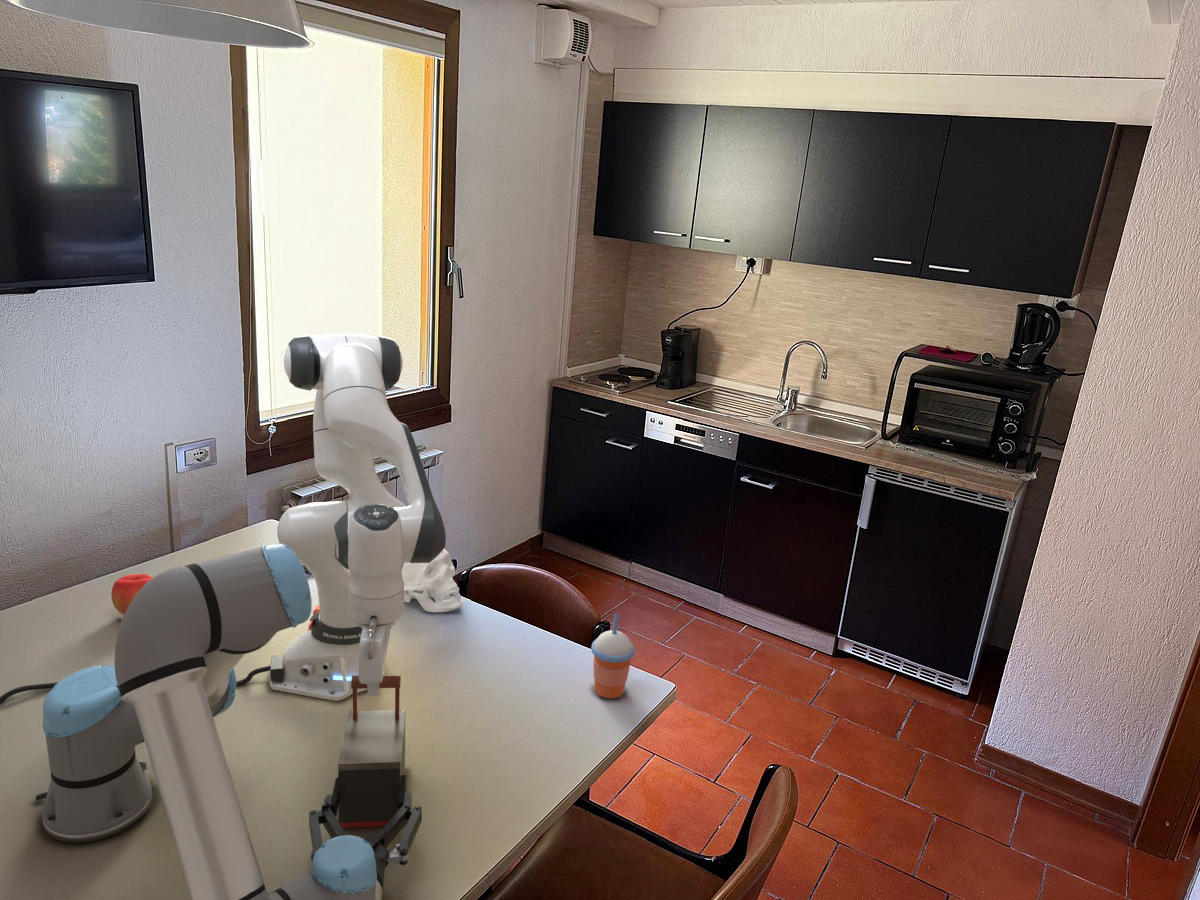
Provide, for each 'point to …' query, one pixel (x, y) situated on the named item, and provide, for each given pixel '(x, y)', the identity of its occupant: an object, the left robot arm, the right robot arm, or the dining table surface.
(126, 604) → the apple
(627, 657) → the cup with straw
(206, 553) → the dining table surface
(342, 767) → the lid
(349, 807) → the chest
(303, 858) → the dining table surface
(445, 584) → the skull
